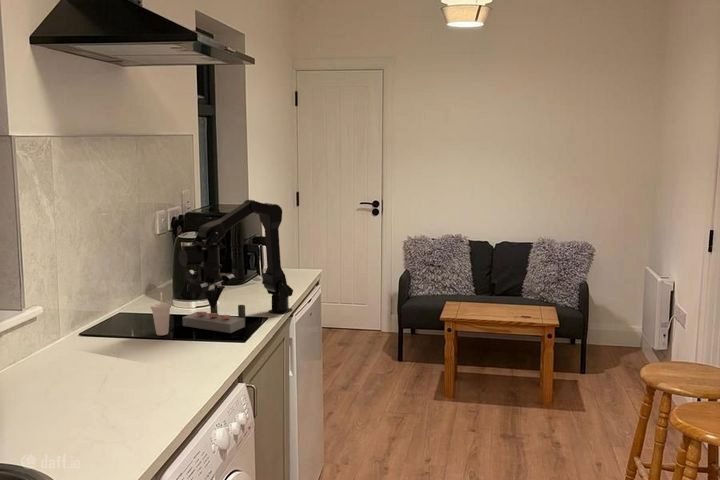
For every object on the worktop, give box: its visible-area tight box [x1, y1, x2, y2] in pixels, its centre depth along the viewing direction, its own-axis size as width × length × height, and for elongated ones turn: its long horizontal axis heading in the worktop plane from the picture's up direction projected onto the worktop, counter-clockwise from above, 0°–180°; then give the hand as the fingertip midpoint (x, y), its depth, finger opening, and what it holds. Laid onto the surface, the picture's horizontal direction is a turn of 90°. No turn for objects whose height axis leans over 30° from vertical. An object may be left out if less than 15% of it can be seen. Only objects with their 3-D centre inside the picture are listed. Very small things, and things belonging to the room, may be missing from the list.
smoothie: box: [150, 291, 172, 336], centre depth 233 cm, size 6×6×14 cm
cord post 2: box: [237, 304, 247, 324], centre depth 246 cm, size 2×2×6 cm
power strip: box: [182, 311, 246, 334], centre depth 241 cm, size 8×20×3 cm, turn 63°
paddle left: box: [196, 310, 208, 316], centre depth 243 cm, size 3×2×1 cm
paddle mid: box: [208, 312, 219, 317], centre depth 241 cm, size 3×2×1 cm
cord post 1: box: [209, 302, 219, 315], centre depth 251 cm, size 2×2×6 cm
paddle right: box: [220, 314, 231, 319], centre depth 239 cm, size 3×2×1 cm
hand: (212, 307), depth 241 cm, fingers closed
